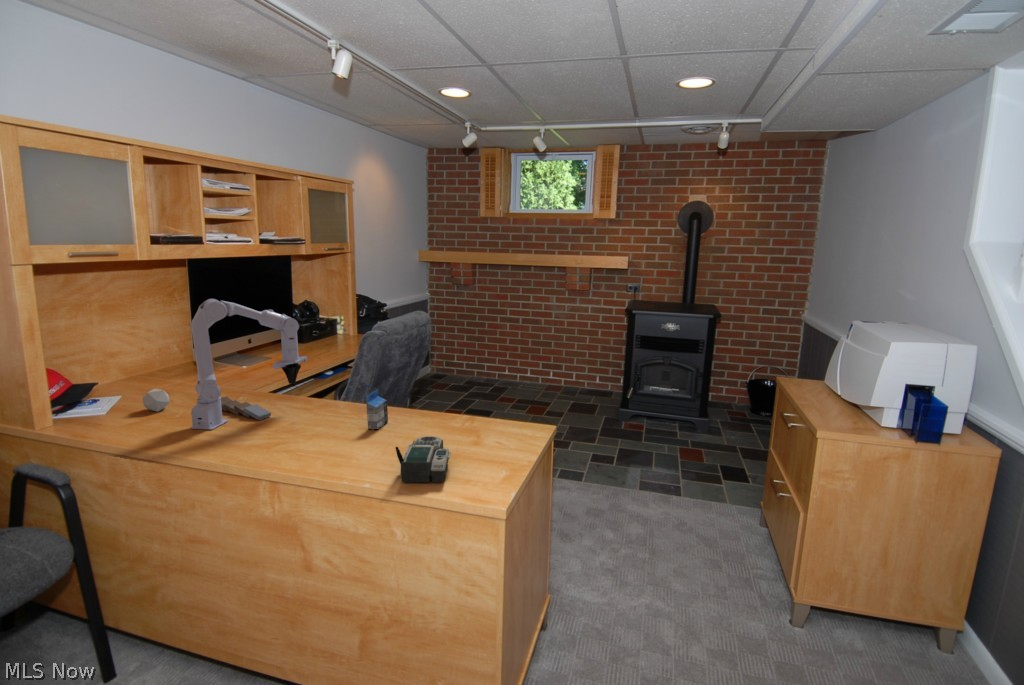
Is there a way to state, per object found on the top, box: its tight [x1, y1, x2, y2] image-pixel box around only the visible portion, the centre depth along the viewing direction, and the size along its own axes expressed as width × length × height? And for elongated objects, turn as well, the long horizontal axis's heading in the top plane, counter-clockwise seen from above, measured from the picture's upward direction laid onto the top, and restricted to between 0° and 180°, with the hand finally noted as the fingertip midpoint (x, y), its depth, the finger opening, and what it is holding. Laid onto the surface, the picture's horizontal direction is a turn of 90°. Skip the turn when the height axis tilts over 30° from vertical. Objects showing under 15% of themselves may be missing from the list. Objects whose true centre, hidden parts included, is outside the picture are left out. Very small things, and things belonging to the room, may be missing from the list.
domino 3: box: [234, 401, 253, 419], centre depth 197 cm, size 2×5×8 cm
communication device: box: [395, 435, 452, 483], centre depth 157 cm, size 14×28×10 cm, turn 2°
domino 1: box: [221, 396, 234, 413], centre depth 204 cm, size 2×5×8 cm
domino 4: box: [244, 403, 272, 421], centre depth 195 cm, size 2×5×8 cm
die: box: [142, 388, 171, 412], centre depth 200 cm, size 8×9×10 cm
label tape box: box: [365, 389, 389, 430], centre depth 187 cm, size 9×4×12 cm, turn 168°
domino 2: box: [223, 399, 242, 416], centre depth 200 cm, size 2×5×8 cm
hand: (292, 383), depth 202 cm, fingers closed
